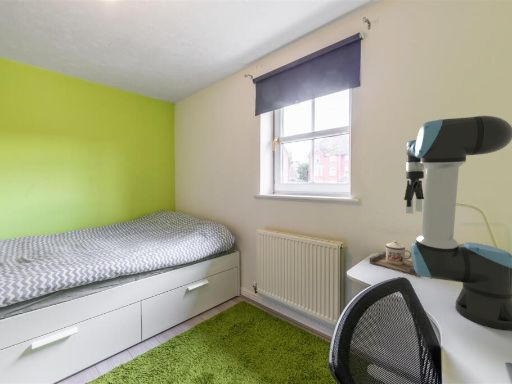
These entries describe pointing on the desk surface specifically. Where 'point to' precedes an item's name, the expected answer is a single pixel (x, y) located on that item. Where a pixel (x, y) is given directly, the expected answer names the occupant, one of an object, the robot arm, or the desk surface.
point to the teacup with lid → (396, 253)
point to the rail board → (381, 261)
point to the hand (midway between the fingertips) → (414, 212)
